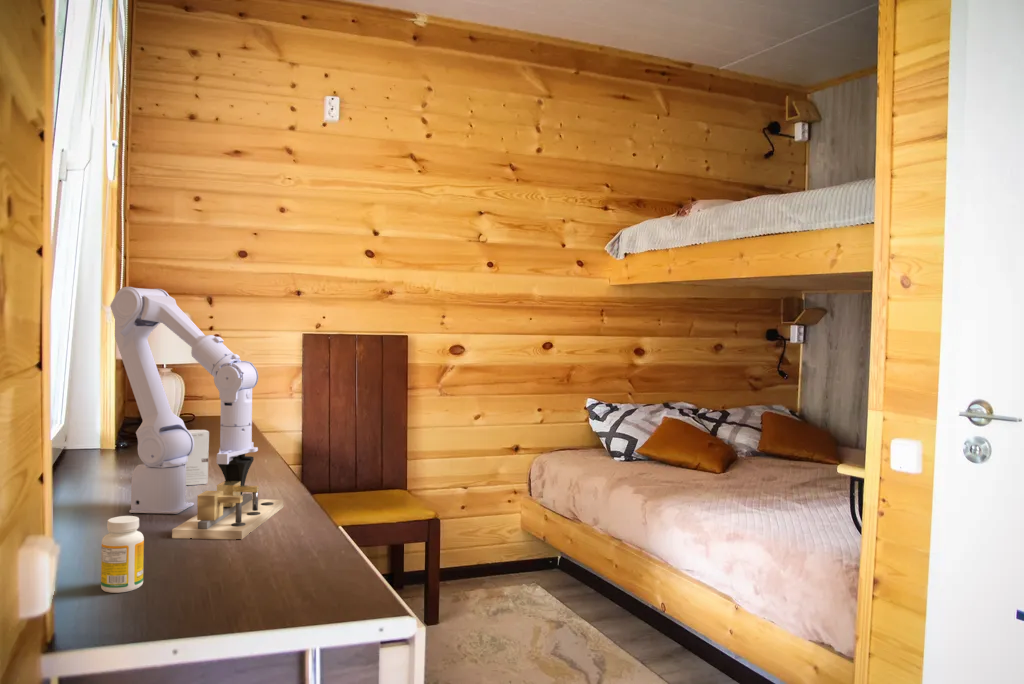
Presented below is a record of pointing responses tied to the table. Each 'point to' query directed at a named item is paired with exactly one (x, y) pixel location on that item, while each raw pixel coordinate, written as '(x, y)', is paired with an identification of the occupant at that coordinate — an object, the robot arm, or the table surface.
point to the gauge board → (226, 517)
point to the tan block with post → (238, 492)
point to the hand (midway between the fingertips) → (235, 495)
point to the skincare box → (198, 459)
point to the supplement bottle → (122, 555)
